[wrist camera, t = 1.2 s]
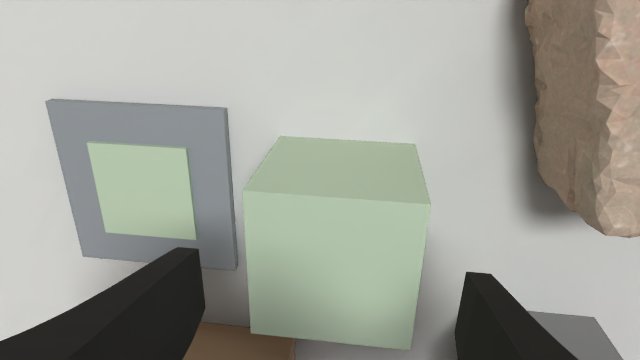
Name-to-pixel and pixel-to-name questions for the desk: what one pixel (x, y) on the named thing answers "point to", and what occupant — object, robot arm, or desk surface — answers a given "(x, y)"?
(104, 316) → the robot arm
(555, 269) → the desk surface
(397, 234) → the sage block
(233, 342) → the light brown block
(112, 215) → the plaque
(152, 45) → the desk surface
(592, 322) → the charcoal block
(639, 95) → the brick
